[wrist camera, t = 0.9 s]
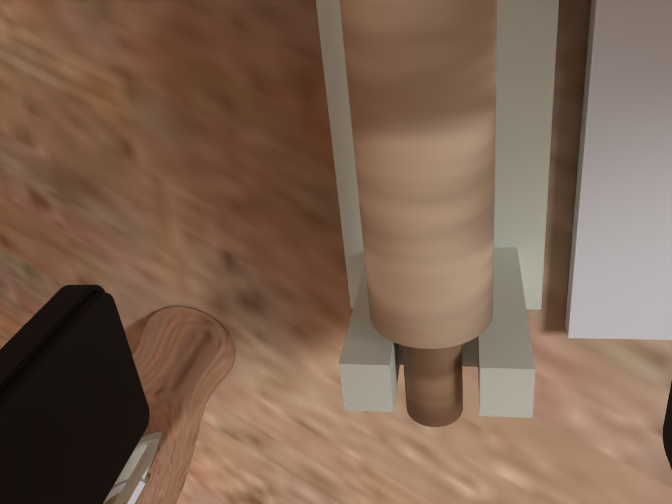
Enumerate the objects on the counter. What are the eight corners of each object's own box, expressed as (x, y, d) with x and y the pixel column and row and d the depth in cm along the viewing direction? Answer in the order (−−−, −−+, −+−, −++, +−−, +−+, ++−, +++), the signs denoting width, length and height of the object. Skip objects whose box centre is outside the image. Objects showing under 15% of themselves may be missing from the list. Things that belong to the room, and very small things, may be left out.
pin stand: (573, -345, 22) (653, -512, 13) (538, 293, 34) (565, 444, 25) (291, -292, 24) (182, -404, 15) (354, 292, 36) (317, 431, 27)
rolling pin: (335, -363, 18) (268, -429, 14) (511, -408, 16) (492, -497, 13) (393, 365, 30) (366, 438, 26) (496, 377, 29) (484, 457, 25)
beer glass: (135, 372, 42) (-7, 582, 30) (138, 287, 39) (-22, 485, 26) (236, 399, 42) (136, 624, 29) (248, 315, 38) (141, 530, 26)
